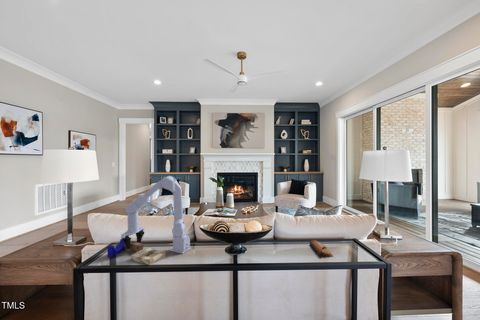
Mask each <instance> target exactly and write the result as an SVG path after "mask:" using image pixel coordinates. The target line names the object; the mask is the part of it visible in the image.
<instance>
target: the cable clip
mask: <svg viewBox="0 0 480 320" xmlns="http://www.w3.org/2000/svg"><path fill="white" fill-rule="evenodd" d="M123 251H126V250H125V247H124V241H123V240H122V238H121V239H119V243H118V244H116V246H115V245H108V246H107V258H114V257H116V256H117V255H118V254H120V253H122V252H123Z"/></svg>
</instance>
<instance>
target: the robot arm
mask: <svg viewBox="0 0 480 320" xmlns="http://www.w3.org/2000/svg"><path fill="white" fill-rule="evenodd" d="M162 189H165V190H168V191H170V192H171V193H172V195H173V196H172V197H173V199H172V200H173V217H174V220H173V227H172V231H171V232H172V233H171V234H172V247H173V248H170V249H169V251H170V252H174V253H178V254H181V255H182V254H185V253H187V252H188V251H189V250H191V249H192V248H191V238H190V236H188V235H187V234H186V232H185V230H186V228H187V225H186V223H185V219H184V213H183V212H184V211H183V209H184V208H183V191H182V189H183V187H181V185H180V184H179V182H178V181H177V179H176V178H175V177H174V176H172V175H167V176H166V177H162V179H161V180H159V181H157V182H156V183H155V184H153V185H152V186H151V187H150V188H149V189H148V190H147V191H146V192H145V193H138V195H137V197H136V198H135V199H134V200H133V199H132V200H131V202H130V203H129V204H126V207H125V211H126V213H127V231H125V232H124V233H121V235H120V238H121V239H122V240H123V241H124V243H125V246H126V249H130V241H132V240H131V239H132V237H130V236H132V235H135V236H136V242H137V243H141V242H142V239H143V237H144V235H145V227H144V226H140V227H139V211H140V209H141V208H142V207H143V206H144V205H145V204H147V202H149V201H150V200H149V199H150V198H149V197H151V196H152V195H153V194H155V193H156V192H158V190H162Z"/></svg>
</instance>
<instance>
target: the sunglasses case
mask: <svg viewBox="0 0 480 320" xmlns="http://www.w3.org/2000/svg"><path fill="white" fill-rule="evenodd" d="M309 245H310V246H311V247H312V248H313V250H314V251H315V252H316V254H317V255H318V256H319V257H320V258H334V255H333V253H332V252H331V251H330V250H329V249H328V248H327V246H326V245H325V244H323V243H321V242H320V241H318V240H315V239H311V240H310V241H309Z"/></svg>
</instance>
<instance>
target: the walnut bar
mask: <svg viewBox="0 0 480 320" xmlns="http://www.w3.org/2000/svg"><path fill="white" fill-rule="evenodd" d="M124 247H125V250H124V251H127V252H131V253H132V254H135V253H137V252H139V251H141V250H143V249H144V244H143V243H137V241H133V240H130V249H126V246H125V243H124Z"/></svg>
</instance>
